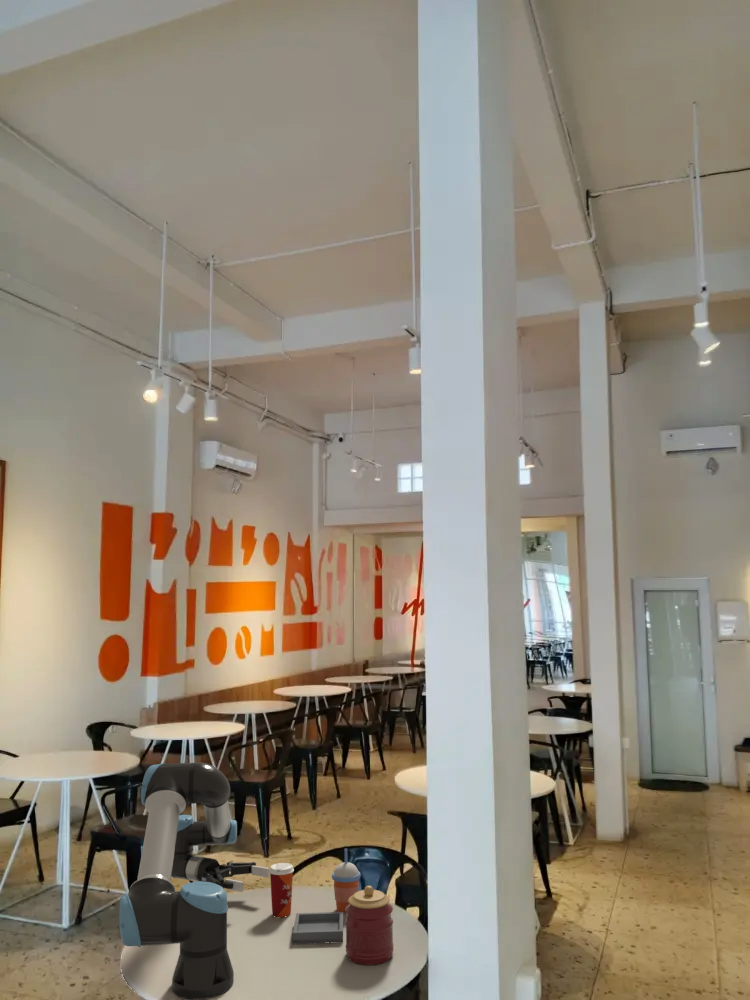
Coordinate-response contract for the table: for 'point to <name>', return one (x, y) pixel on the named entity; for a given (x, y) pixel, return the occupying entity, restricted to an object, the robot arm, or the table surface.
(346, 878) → the cup with straw
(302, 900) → the table surface
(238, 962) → the table surface
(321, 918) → the tray
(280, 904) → the paper cup
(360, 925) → the canister
